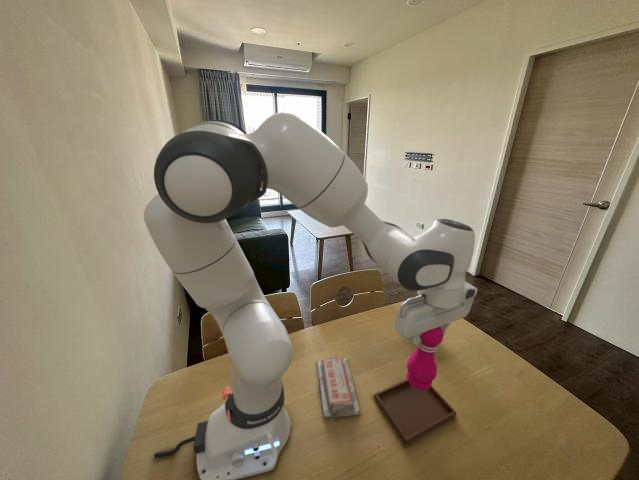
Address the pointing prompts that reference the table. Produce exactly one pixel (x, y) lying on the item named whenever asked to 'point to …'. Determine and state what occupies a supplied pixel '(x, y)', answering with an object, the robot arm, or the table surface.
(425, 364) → the pepper mill
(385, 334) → the table surface
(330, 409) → the packaged product
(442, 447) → the table surface
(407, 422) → the tray
